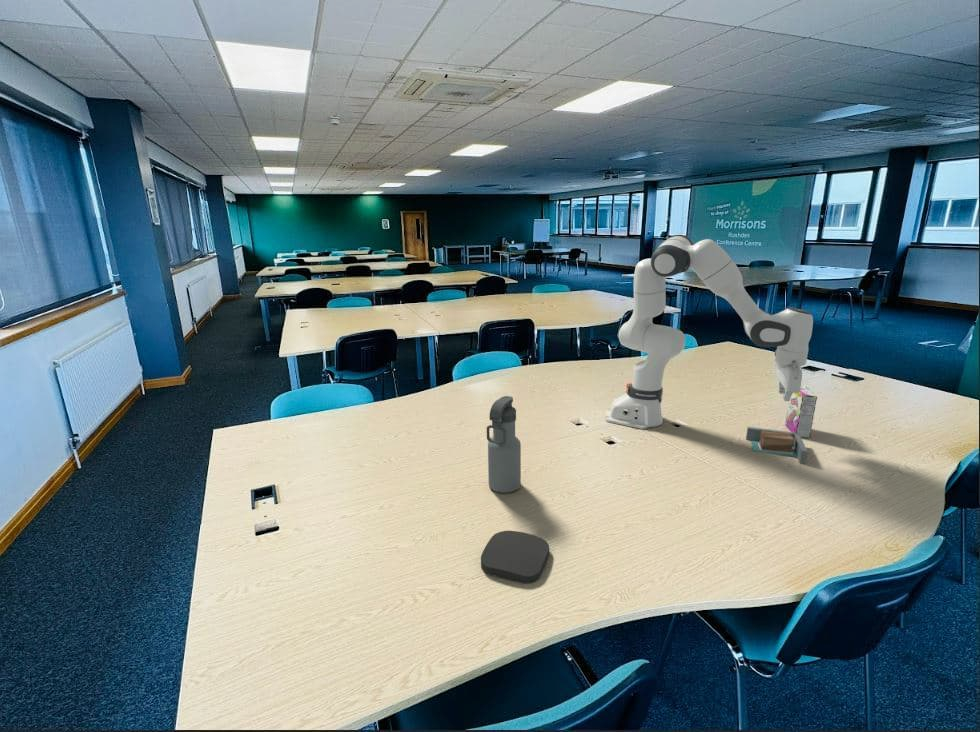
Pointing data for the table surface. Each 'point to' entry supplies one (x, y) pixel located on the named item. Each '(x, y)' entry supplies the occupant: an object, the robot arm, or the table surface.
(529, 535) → the media streaming box
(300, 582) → the table surface
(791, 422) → the candy bar box
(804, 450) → the corner bracket
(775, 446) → the walnut block
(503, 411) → the water bottle
